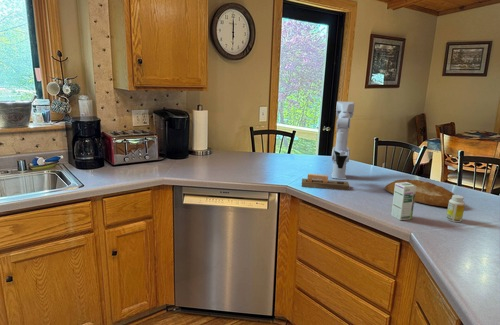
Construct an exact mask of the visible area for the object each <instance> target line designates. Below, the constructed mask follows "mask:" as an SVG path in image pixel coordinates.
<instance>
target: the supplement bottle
mask: <svg viewBox="0 0 500 325" xmlns="http://www.w3.org/2000/svg"><path fill="white" fill-rule="evenodd" d="M464 199H465V198H464V196H462V195H458V194H455V195H452V199H450V200H449V204H448V207H447V212H446V216H445V217H446V220H447V221H450V222H454V223H461V222H462V221H463V217H464V210H465V206H466V205H465V204H466V202H465V200H464Z"/></svg>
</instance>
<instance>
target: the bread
mask: <svg viewBox="0 0 500 325" xmlns="http://www.w3.org/2000/svg"><path fill="white" fill-rule="evenodd" d="M404 182H408V183H411V184H414V185H415V186H416V193H415V200H414V203H419V204H424V205H428V206H429V205H430V206H436V207H442V208H448V204H449V200H450V199H452V195H456V194H455V193H453V191H450V190H448V189H446V188H445V187H442V186H440V185H437V184H434V183H432V182H430V181H423V180H421V179H409V178H405V179H397V180H394V181H392V182H390V183H388V184H386V185H385V187H384V189H385V191H387V192H389V193H390V194H392V195H394V188H395V183H404Z"/></svg>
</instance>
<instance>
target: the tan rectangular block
mask: <svg viewBox="0 0 500 325" xmlns="http://www.w3.org/2000/svg"><path fill="white" fill-rule="evenodd" d="M306 179H307V182H312V179H316V180H323V183H328V180H329V175H328V174H327V175H326V174H318V173H317V174H316V173H307V178H306Z"/></svg>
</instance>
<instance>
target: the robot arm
mask: <svg viewBox="0 0 500 325" xmlns="http://www.w3.org/2000/svg"><path fill="white" fill-rule="evenodd" d="M355 103H356V102H354V101H342V100H341V101H340V100H338V101H336V107H335V108H336V109H335V111H336V112H335V115H336V118H337V119H336V139H335V146H333V147H332V149H331V150H332V151H331V158H330V159H331V161H332V162H333V164H332V172H331V173H330V175H331V179H335V180H336V179H338V180H347V176H346V171H347V164H348V163H349V162H350V155H351V154H350V153H351V152H350V147H348V143H349V142H348V141H349V140H348V139H349V130H350V127H351V119H352V118H353V116H354V112H355Z"/></svg>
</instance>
